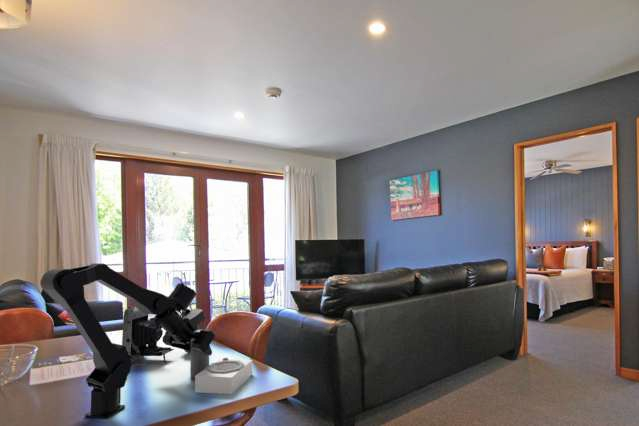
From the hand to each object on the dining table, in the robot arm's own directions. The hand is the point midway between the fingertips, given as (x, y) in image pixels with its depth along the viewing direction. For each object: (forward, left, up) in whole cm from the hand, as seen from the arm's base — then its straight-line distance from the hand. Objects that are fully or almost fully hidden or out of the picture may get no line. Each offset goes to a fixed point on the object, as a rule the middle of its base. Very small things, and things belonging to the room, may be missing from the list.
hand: (203, 352), depth 120 cm
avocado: (+23, +17, -7) cm, 29 cm away
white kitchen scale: (-5, -10, -7) cm, 13 cm away
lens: (-1, +1, -7) cm, 7 cm away
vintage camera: (+12, +28, -7) cm, 31 cm away
